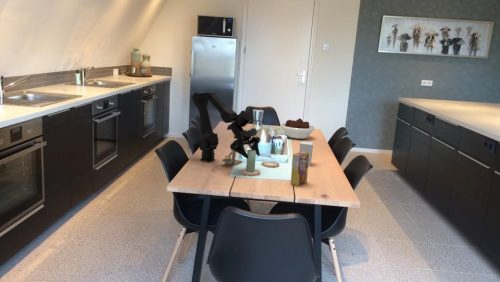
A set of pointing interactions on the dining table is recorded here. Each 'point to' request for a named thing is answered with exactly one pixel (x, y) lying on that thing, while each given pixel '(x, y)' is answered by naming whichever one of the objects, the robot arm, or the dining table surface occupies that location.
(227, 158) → the balance
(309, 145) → the supplement box
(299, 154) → the candy box
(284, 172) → the dining table surface
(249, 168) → the grey green cylinder
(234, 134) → the robot arm
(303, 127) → the bowl with brown lumps
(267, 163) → the dish
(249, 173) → the dish
